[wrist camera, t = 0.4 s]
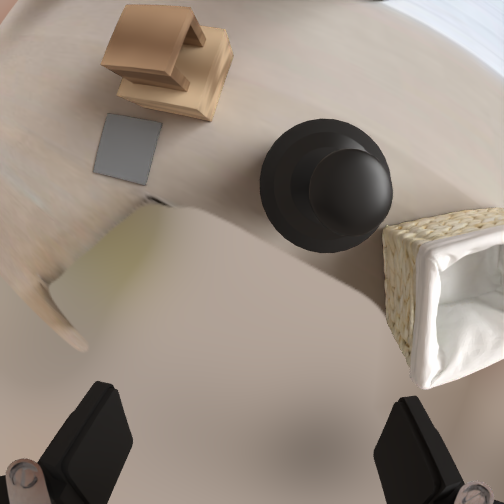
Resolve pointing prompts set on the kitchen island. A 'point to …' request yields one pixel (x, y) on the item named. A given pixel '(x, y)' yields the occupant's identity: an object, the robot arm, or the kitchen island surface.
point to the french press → (325, 186)
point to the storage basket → (446, 293)
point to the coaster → (127, 148)
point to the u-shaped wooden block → (152, 44)
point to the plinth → (189, 79)
